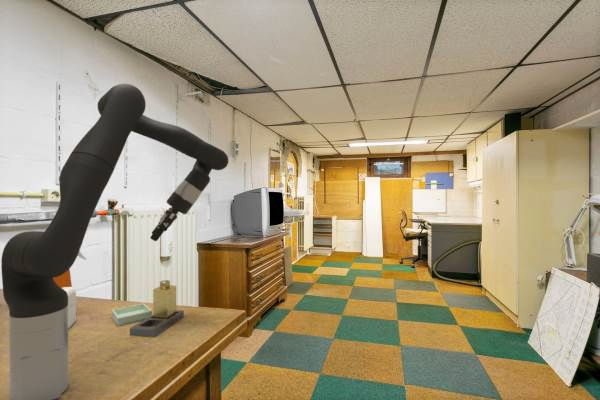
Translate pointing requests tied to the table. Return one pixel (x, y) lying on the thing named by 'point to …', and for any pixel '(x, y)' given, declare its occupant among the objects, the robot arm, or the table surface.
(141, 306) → the parts tray
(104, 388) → the table surface
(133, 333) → the grey metal holder frame
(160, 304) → the gold perfume bottle
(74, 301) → the photo printer
